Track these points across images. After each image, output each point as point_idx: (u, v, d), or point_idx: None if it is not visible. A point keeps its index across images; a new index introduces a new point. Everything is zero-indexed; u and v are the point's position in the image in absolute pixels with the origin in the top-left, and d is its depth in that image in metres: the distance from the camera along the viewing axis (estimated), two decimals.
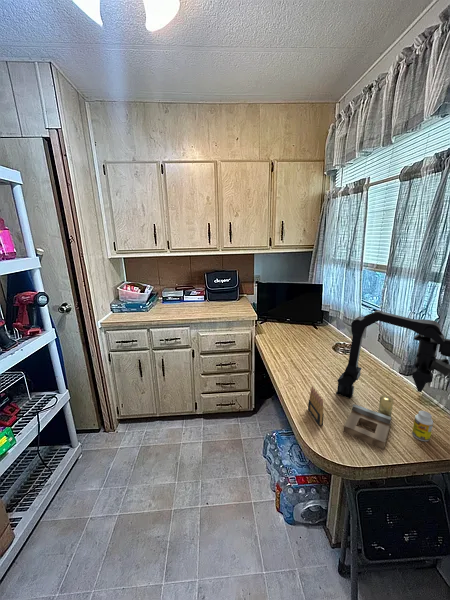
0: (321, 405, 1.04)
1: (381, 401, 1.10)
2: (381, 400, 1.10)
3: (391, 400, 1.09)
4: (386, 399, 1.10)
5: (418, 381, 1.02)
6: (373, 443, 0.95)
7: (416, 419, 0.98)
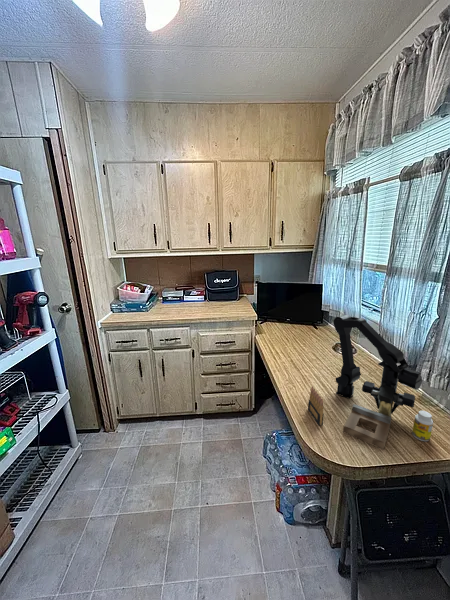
0: (321, 405, 1.04)
1: (381, 401, 1.10)
2: None
3: None
4: None
5: None
6: (373, 443, 0.95)
7: (416, 419, 0.98)
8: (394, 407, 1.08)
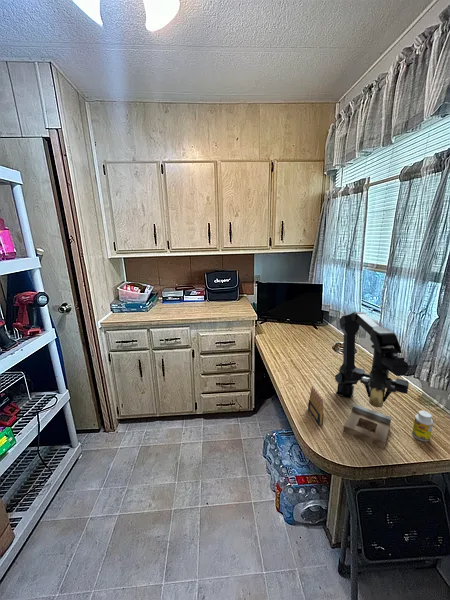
0: (321, 405, 1.04)
1: (372, 388, 1.00)
2: None
3: None
4: None
5: None
6: (373, 443, 0.95)
7: (416, 419, 0.98)
8: (386, 395, 0.98)
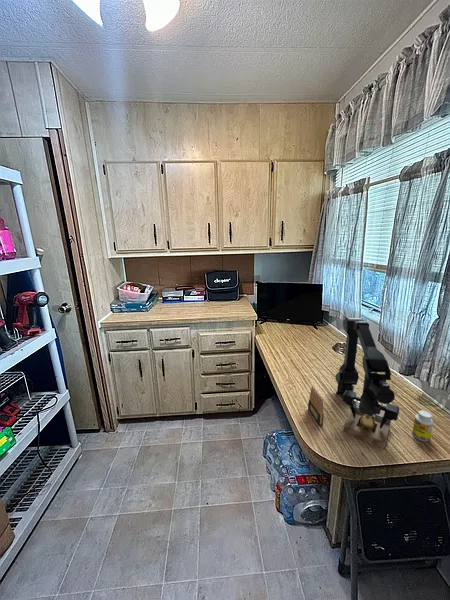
0: (321, 405, 1.04)
1: (362, 417, 1.00)
2: (362, 416, 1.01)
3: (373, 416, 0.99)
4: None
5: None
6: (373, 443, 0.95)
7: (416, 419, 0.98)
8: (383, 422, 0.97)
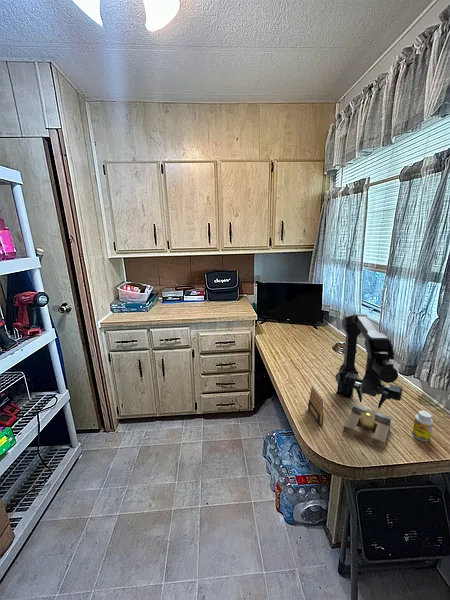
0: (321, 405, 1.04)
1: (362, 417, 1.00)
2: (362, 416, 1.01)
3: (373, 416, 0.99)
4: (367, 414, 1.00)
5: None
6: (373, 443, 0.95)
7: (416, 419, 0.98)
8: (381, 401, 0.96)
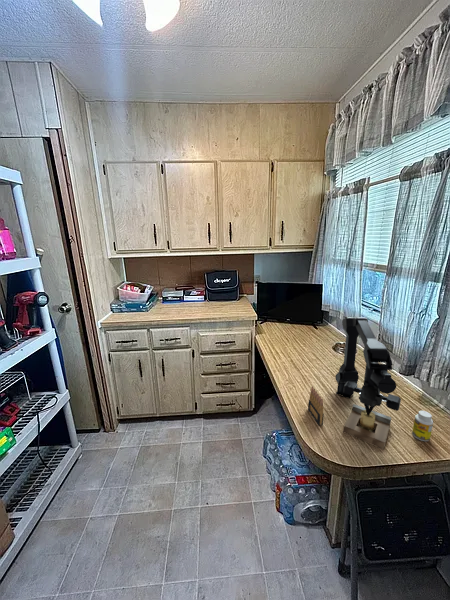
0: (321, 405, 1.04)
1: (362, 417, 1.00)
2: (362, 416, 1.01)
3: (373, 416, 0.99)
4: (367, 414, 1.00)
5: None
6: (373, 443, 0.95)
7: (416, 419, 0.98)
8: (371, 408, 0.98)
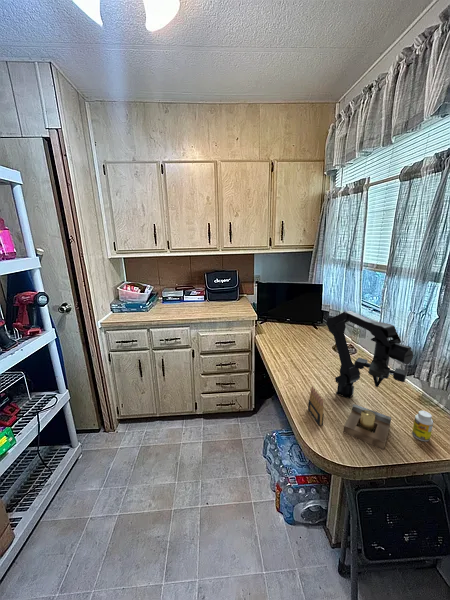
0: (321, 405, 1.04)
1: (362, 417, 1.00)
2: (362, 416, 1.01)
3: (373, 416, 0.99)
4: (367, 414, 1.00)
5: None
6: (373, 443, 0.95)
7: (416, 419, 0.98)
8: (379, 381, 1.09)
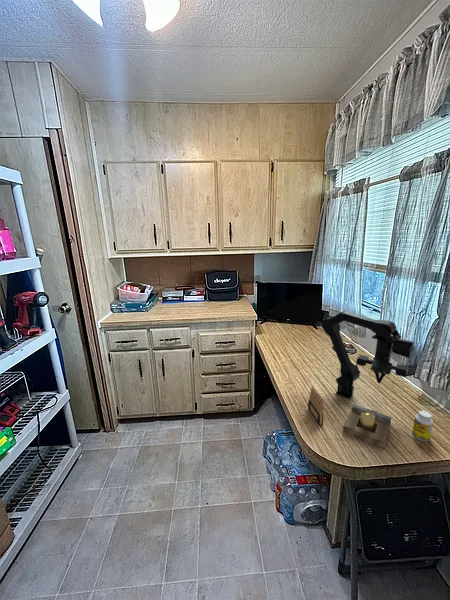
0: (321, 405, 1.04)
1: (362, 417, 1.00)
2: (362, 416, 1.01)
3: (373, 416, 0.99)
4: (367, 414, 1.00)
5: None
6: (373, 443, 0.95)
7: (416, 419, 0.98)
8: (381, 377, 1.12)
